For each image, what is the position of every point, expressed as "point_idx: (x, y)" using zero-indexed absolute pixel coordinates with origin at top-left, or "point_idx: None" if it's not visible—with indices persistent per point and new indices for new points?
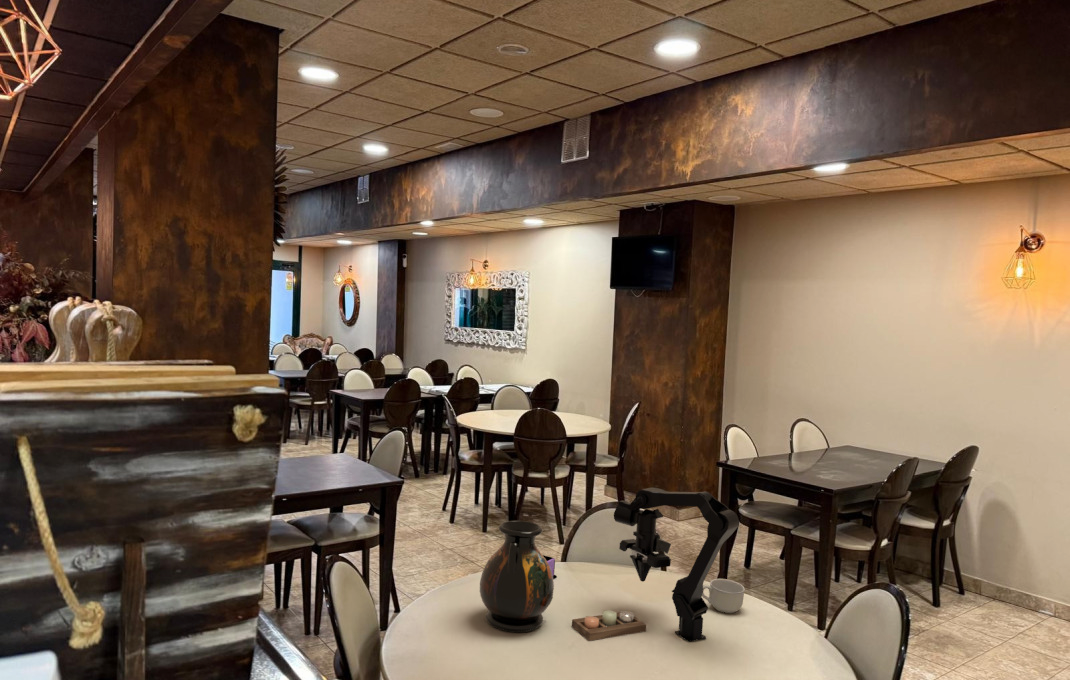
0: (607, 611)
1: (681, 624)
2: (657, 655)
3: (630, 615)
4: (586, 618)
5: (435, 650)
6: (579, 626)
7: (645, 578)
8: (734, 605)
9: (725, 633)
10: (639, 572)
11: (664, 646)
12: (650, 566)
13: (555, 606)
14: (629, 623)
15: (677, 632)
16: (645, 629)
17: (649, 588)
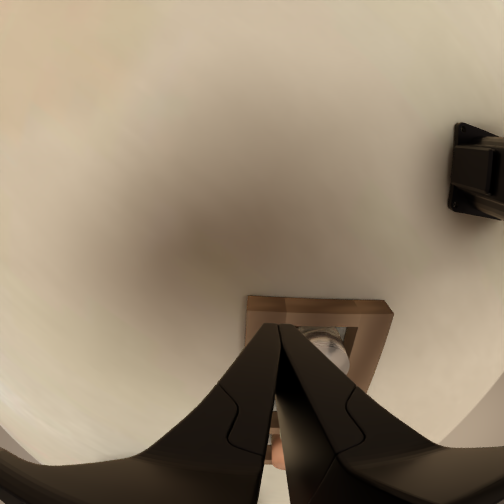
0: None
1: (496, 216)
2: (478, 351)
3: (341, 366)
4: (282, 466)
5: None
6: None
7: (304, 341)
8: None
9: (493, 48)
10: (286, 447)
11: (472, 307)
12: (412, 448)
13: (107, 414)
14: (352, 364)
15: (461, 208)
16: (386, 305)
17: (40, 20)
